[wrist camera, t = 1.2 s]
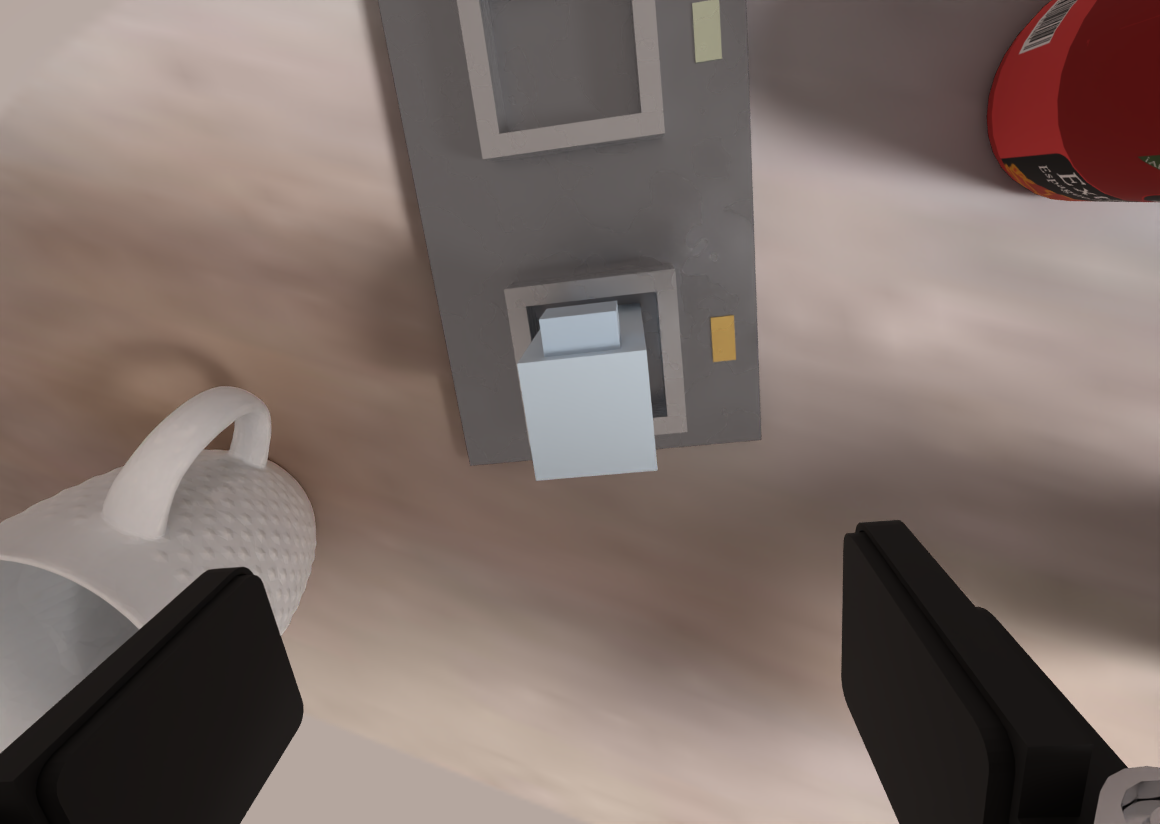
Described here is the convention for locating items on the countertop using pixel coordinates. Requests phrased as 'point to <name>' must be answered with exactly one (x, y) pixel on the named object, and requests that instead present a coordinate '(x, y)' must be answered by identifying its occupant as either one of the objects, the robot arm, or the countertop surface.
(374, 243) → the countertop surface
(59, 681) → the mug
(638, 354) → the plug
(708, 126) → the panel
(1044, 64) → the canned food
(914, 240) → the countertop surface
